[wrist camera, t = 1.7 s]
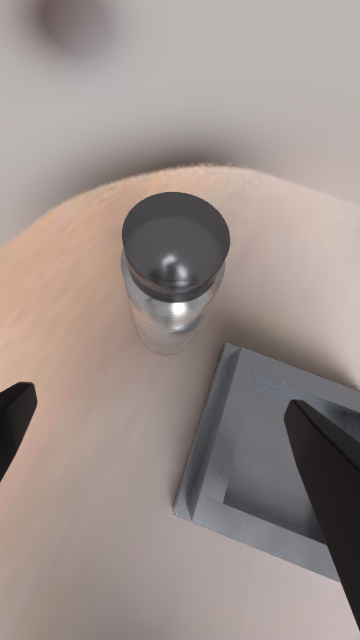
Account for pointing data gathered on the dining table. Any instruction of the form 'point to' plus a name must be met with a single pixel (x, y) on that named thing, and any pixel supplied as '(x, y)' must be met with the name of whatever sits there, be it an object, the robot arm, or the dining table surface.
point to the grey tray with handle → (260, 457)
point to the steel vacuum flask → (172, 266)
